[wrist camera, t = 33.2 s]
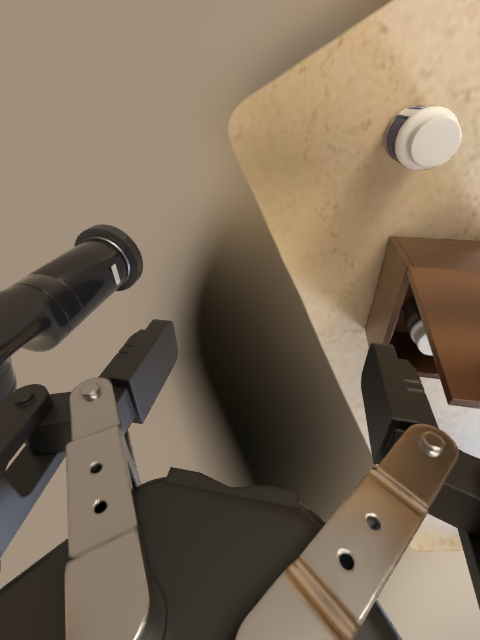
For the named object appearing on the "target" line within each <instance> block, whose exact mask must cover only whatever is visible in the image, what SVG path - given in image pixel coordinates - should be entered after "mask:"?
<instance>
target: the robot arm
mask: <svg viewBox="0 0 480 640" xmlns="http://www.w3.org/2000/svg"><path fill="white" fill-rule="evenodd" d="M130 274H131V263H130V260H129V258H128V256H127V254H126V252H125V251H124V250H123V249H122V248H121V246H119V245H118V244H117V243H116V242H114V241H113V240H111V239H109V238H106V237H103V236H92V237H90V238H88V239H86V240H85V241H83V242H82V243H81V244H79V245H77V246H76V247H74V248H72V249H71V250H69V251H67V252H66V253H64V254H62V255H61V256H59V257H57V258H56V259H54V260H52V261H51V262H49V263H47V264H46V265H44V266H42V267H41V268H39V269H37V270H36V271H34V272H33V273H31V274H29V275H28V276H26V277H24V278H23V279H21V280H19V281H18V282H16V283H15V284H13V285H11V286H9V287H8V288H6V289H4V290H2V291H0V558H1V556H2V554H3V553H4V551H5V550H6V548H7V547H8V545H9V543H10V542H11V540H12V539H13V537H14V535H15V534H16V532H17V531H18V529H19V528H20V526H21V525H22V523H23V521H24V520H25V518H26V517H27V515H28V514H29V512H30V511H31V509H32V507H33V506H34V504H35V503H36V501H37V500H38V498H39V497H40V495H41V493H42V492H43V490H44V489H45V487H46V486H47V484H48V482H49V481H50V479H51V478H52V476H53V475H54V473H55V472H56V470H57V469H58V467H59V465H60V464H61V462H62V460H63V459H64V457H65V456H66V476H67V510H68V539H66V540H65V541H64V542H62V543H61V544H60V545H58V546H57V547H56V548H54V549H53V550H52V551H50V552H49V553H48V554H46V555H45V556H44V557H42V558H41V559H40V560H38V561H37V562H36V563H34V564H33V565H32V566H30V567H29V568H28V569H26V570H25V571H24V572H22V573H21V574H20V575H18V576H17V577H16V578H14V579H13V580H12V581H11V582H9V583H8V584H6V585H5V586H4V587H3V588H1V589H0V640H402V639H401V637H400V635H399V634H398V632H397V630H396V629H395V627H394V626H393V624H392V622H391V621H390V619H389V618H388V616H387V615H386V613H385V611H384V610H383V608H382V607H381V605H380V603H379V602H378V600H377V598H378V596H379V594H380V593H381V591H382V589H383V588H384V586H385V584H386V582H387V581H388V579H389V577H390V576H391V574H392V572H393V571H394V569H395V567H396V565H397V564H398V562H399V561H400V559H401V557H402V555H403V554H404V552H405V550H406V549H407V547H408V545H409V544H410V542H411V540H412V539H413V537H414V535H415V534H416V532H417V530H418V528H419V527H420V525H421V523H422V522H423V520H424V518H425V517H426V515H427V513H428V514H430V515H432V516H434V517H436V518H438V519H440V520H442V521H444V522H446V523H448V524H450V525H452V526H454V527H456V528H458V532H459V536H460V539H461V543H462V547H463V550H464V554H465V558H466V561H467V565H468V568H469V572H470V575H471V579H472V583H473V587H474V590H475V594H476V598H477V601H478V605H479V608H480V459H479V458H476V457H474V456H471V455H469V454H467V453H464V452H463V451H461V450H459V449H458V448H457V446H456V444H455V442H454V441H453V440H452V439H451V438H450V437H449V436H448V435H447V434H446V433H445V432H443V431H442V430H440V429H439V428H438V425H437V423H436V420H435V417H434V415H433V412H432V409H431V407H430V404H429V401H428V399H427V396H426V394H425V393H424V388H423V386H422V384H421V380H420V378H419V375H418V372H417V370H416V369H415V368H414V367H413V366H412V365H411V364H410V363H409V361H408V360H404V359H398V357H397V354H396V351H395V348H394V346H393V345H390V344H380V343H371V344H370V347H369V350H368V354H367V357H366V361H365V364H364V368H363V371H362V377H361V388H362V395H363V401H364V407H365V414H366V420H367V426H368V432H369V439H370V445H371V451H372V458H373V463H374V464H378V466H377V467H376V468H374V467H373V468H372V469H370V470H369V471H368V473H367V474H366V475H365V476H364V477H363V479H362V480H361V481H360V482H359V484H358V485H357V486H356V487H355V488H354V490H353V491H352V492H351V493H350V495H349V496H348V497H347V498H346V500H345V501H344V502H343V503H342V504H341V506H340V507H339V508H338V509H337V511H336V512H335V513H334V514H333V516H332V517H331V518H330V519H329V520H328V522H325V520H324V519H323V518H322V517H321V516H319V515H318V514H317V513H316V512H315V511H314V510H312V509H311V508H309V507H307V506H306V505H304V504H302V503H300V502H299V491H294V490H288V489H284V488H278V487H273V486H268V485H262V486H247V487H236V488H235V487H233V488H232V487H228V486H226V485H224V484H222V483H220V482H218V481H216V480H214V479H212V478H210V477H208V476H206V475H204V474H202V473H199V472H194V471H189V470H183V469H178V468H173V467H171V468H170V470H169V473H168V476H167V477H163V478H158V479H154V480H151V481H148V482H146V483H144V484H141V482H140V478H139V475H138V471H137V466H136V462H135V457H134V453H133V449H132V444H131V440H130V435H129V432H128V428H129V427H130V425H131V423H132V422H133V423H139V424H143V422H144V420H145V418H146V417H147V415H148V413H149V411H150V409H151V407H152V405H153V404H154V402H155V400H156V398H157V396H158V394H159V392H160V391H161V389H162V387H163V385H164V383H165V381H166V379H167V378H168V376H169V374H170V372H171V370H172V368H173V366H174V365H175V362H176V360H177V355H178V348H177V342H176V337H175V330H174V325H173V322H172V321H166V320H157V319H154V320H152V322H151V323H150V324H149V326H148V327H147V328H146V330H140V331H138V332H137V333H135V334H133V335H132V336H131V337H130V338H129V339H128V340H127V342H126V343H125V344H124V346H123V347H122V348H121V349H120V351H119V353H117V354H116V356H115V357H114V358H113V359H112V361H111V362H110V363H109V364H108V366H107V367H106V368H105V370H104V371H103V372H102V373H101V375H100V376H99V377H98V378H92V379H88V380H86V381H84V382H82V383H80V384H79V385H78V386H77V387H75V388H74V389H73V391H72V392H66V393H57V394H49V393H48V391H47V389H46V387H44V386H42V385H39V384H32V385H27V386H24V387H21V388H19V389H17V381H16V376H15V372H14V369H13V365H12V361H11V355H12V354H14V353H15V352H16V351H17V350H19V349H20V348H23V349H27V350H29V351H34V352H45V351H49V350H51V349H53V348H55V347H56V346H57V345H58V344H59V343H60V342H61V341H63V340H64V338H66V337H67V336H68V335H69V334H70V333H71V332H72V331H73V330H74V329H75V328H76V327H77V326H78V325H79V324H80V323H81V322H82V321H84V320H85V319H86V318H87V317H88V316H89V315H90V314H91V313H92V312H93V311H94V310H95V309H96V308H97V307H98V306H99V305H100V304H102V303H103V302H104V301H105V300H106V299H107V298H108V297H109V296H110V295H111V294H112V293H113V292H115V291H116V290H117V289H118V288H119V287H120V286H121V285H123V284H124V283H125V282H126V281H127V280H128V279H129V277H130ZM23 443H25V444H26V446H25V447H24V448H23V450H22V451H21V452H20V454H19V455H18V456H17V457H16V459H15V460H14V461H13V463H12V464H11V465H10V466H9V468H8V469H7V470H6V467H7V465H8V463H9V461H10V460H11V458H12V457H13V456H14V455H15V453H16V452H17V451H18V450H19V448H20V447H21V446H22V445H23ZM5 470H6V472H5ZM0 570H1V561H0Z"/></svg>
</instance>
